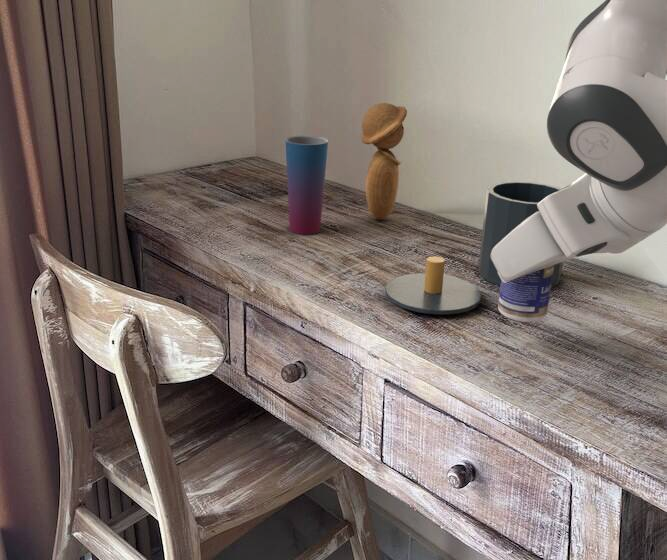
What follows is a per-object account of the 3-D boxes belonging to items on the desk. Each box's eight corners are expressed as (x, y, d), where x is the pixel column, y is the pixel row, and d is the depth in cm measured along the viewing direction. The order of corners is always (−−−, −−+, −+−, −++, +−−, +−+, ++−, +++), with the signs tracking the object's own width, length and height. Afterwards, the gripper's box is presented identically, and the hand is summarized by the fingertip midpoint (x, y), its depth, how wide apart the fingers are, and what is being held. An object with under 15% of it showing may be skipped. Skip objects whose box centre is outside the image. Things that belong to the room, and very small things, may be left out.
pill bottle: (548, 325, 93) (560, 243, 89) (497, 321, 93) (507, 239, 90) (545, 305, 98) (556, 227, 94) (497, 301, 99) (505, 223, 95)
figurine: (406, 226, 138) (414, 108, 130) (365, 228, 136) (371, 108, 129) (390, 210, 146) (397, 98, 139) (351, 212, 144) (357, 98, 137)
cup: (321, 223, 138) (324, 135, 132) (328, 236, 132) (331, 144, 126) (281, 223, 137) (283, 135, 131) (286, 236, 131) (288, 144, 125)
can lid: (485, 321, 103) (489, 280, 101) (384, 315, 104) (386, 274, 102) (475, 283, 115) (480, 245, 113) (385, 278, 116) (387, 240, 113)
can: (566, 292, 113) (580, 206, 108) (482, 287, 114) (492, 201, 109) (551, 263, 124) (563, 183, 119) (475, 258, 124) (483, 179, 120)
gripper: (648, 168, 90) (562, 228, 101) (535, 199, 78) (451, 264, 89) (678, 216, 89) (588, 272, 100) (568, 255, 77) (479, 315, 87)
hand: (523, 269), depth 94 cm, fingers closed on pill bottle, 6 cm apart
